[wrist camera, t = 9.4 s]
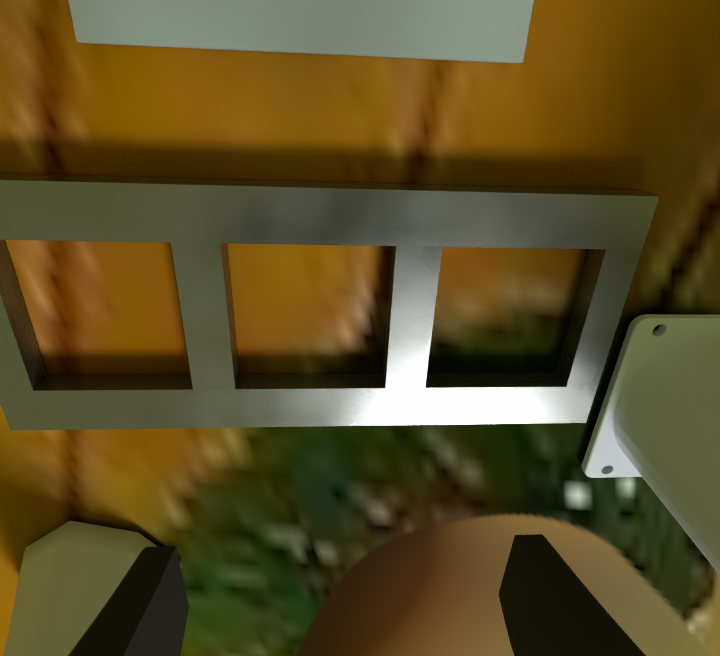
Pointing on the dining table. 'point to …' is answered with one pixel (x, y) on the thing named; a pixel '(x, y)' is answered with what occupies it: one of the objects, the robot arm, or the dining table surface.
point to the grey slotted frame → (315, 227)
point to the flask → (68, 585)
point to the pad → (315, 26)
